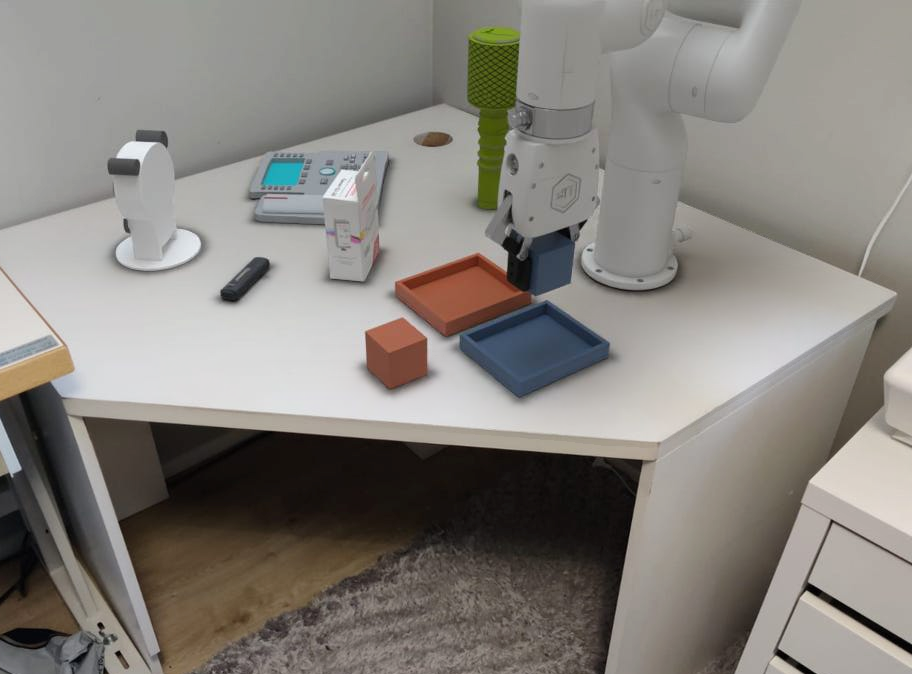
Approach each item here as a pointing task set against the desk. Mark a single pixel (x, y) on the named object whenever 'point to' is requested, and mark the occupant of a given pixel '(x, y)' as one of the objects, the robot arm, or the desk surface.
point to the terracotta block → (396, 352)
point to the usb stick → (245, 278)
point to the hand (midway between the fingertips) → (538, 276)
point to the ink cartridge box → (352, 222)
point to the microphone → (492, 101)
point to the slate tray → (533, 347)
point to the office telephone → (305, 182)
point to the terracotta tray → (461, 293)
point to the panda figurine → (149, 205)
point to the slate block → (550, 262)
